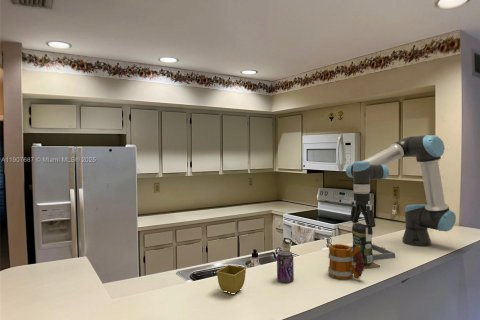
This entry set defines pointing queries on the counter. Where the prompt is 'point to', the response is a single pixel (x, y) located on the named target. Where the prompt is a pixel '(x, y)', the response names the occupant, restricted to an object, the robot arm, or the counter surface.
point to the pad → (372, 265)
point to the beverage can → (285, 266)
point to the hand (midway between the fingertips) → (362, 238)
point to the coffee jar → (362, 242)
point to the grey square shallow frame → (385, 252)
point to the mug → (345, 262)
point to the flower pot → (231, 278)
